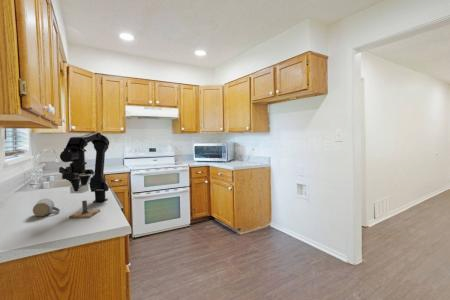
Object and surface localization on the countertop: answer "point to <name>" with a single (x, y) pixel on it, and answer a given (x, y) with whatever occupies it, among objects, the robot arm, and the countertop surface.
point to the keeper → (84, 212)
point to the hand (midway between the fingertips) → (79, 190)
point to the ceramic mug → (45, 207)
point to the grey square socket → (80, 189)
